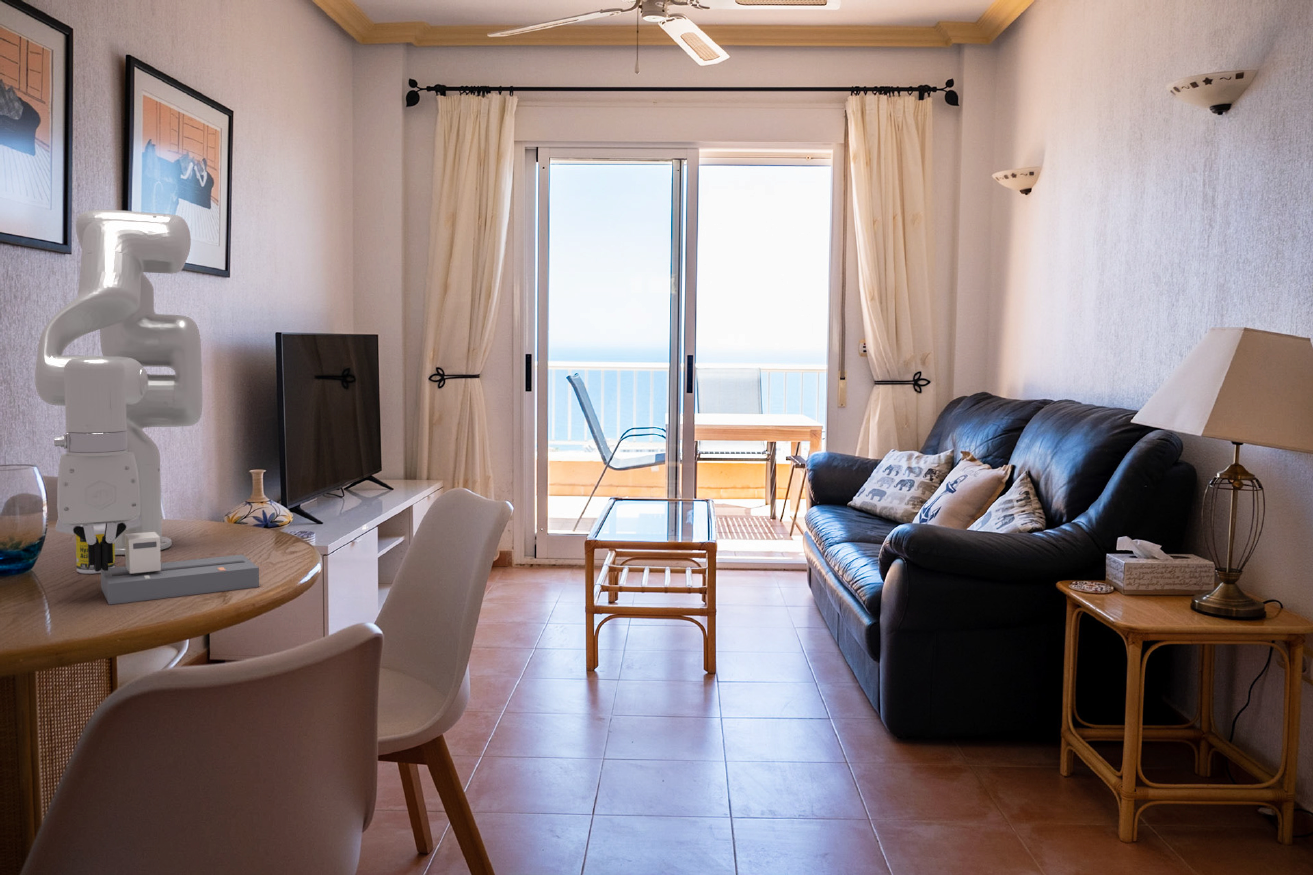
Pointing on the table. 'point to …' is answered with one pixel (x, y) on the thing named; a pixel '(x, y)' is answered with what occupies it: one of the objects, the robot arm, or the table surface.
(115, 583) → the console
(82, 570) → the supplement bottle
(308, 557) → the table surface
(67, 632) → the table surface
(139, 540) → the cap
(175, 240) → the robot arm
